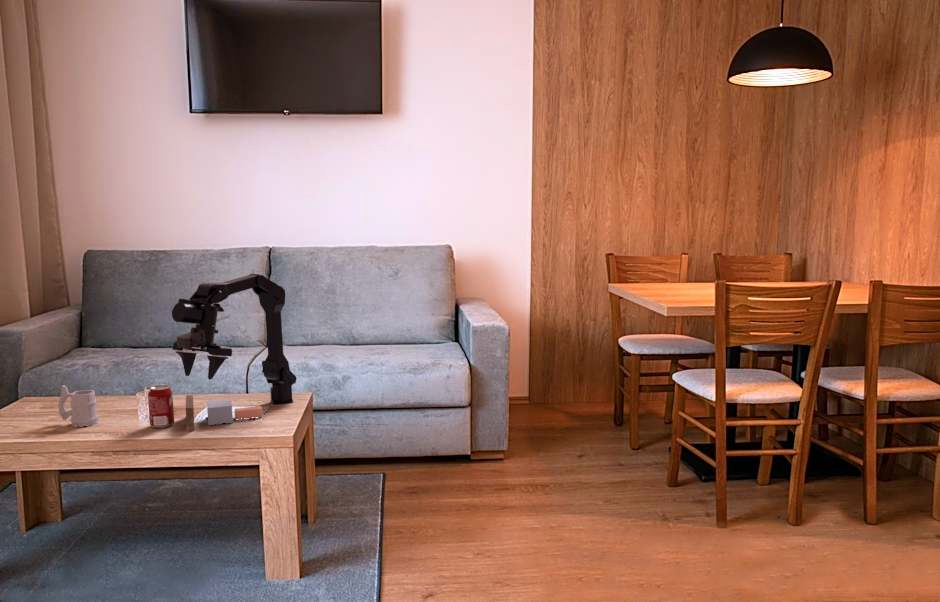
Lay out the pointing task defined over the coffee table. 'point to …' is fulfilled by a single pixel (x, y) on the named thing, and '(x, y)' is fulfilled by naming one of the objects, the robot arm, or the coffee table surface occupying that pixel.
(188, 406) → the wall
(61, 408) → the mug
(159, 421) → the soda can
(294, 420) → the coffee table surface
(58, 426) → the coffee table surface
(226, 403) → the block
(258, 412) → the orange white rectangular bar
